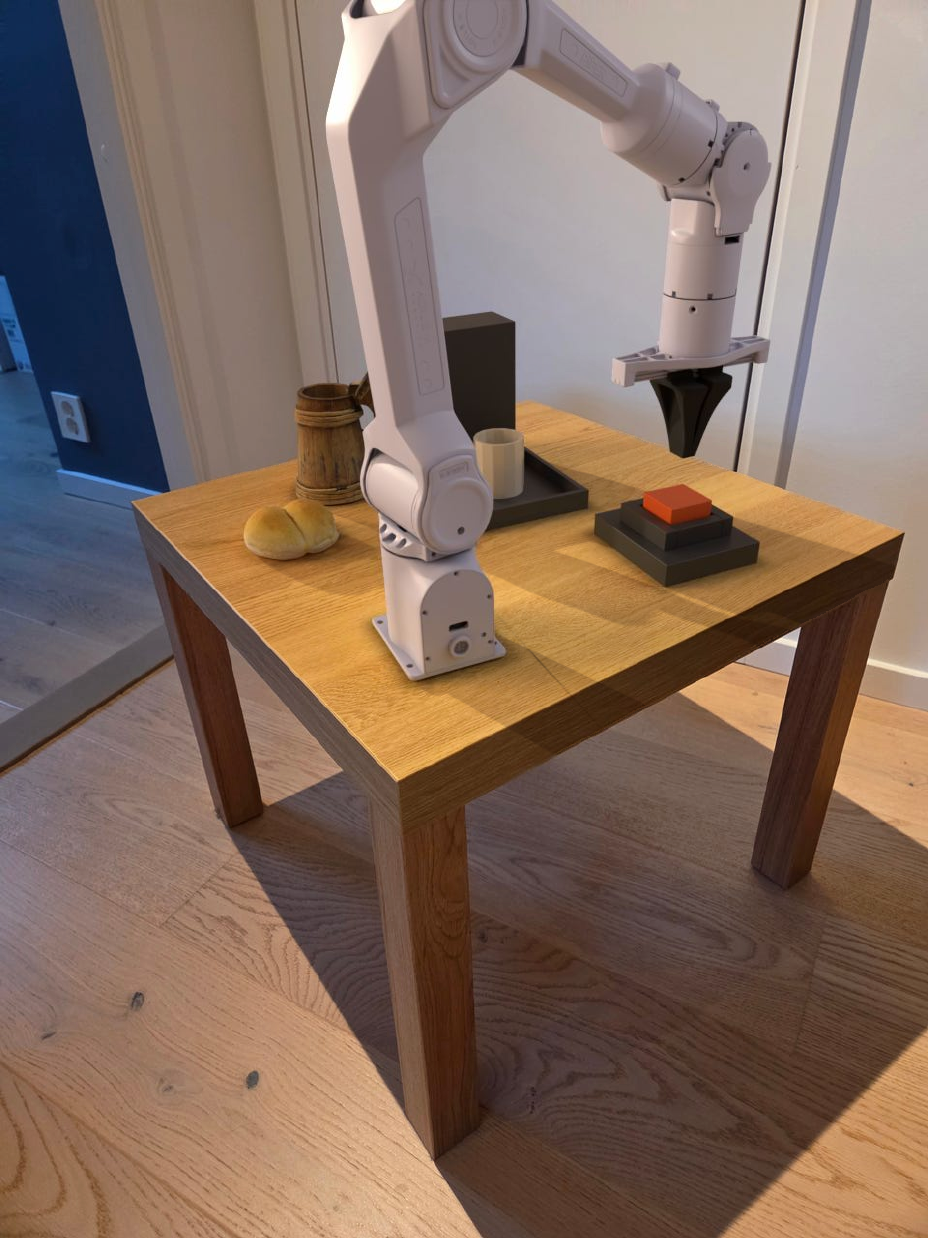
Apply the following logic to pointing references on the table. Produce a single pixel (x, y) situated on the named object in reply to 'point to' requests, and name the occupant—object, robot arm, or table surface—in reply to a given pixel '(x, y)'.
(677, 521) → the button
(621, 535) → the control block
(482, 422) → the block
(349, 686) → the table surface
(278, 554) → the bread roll
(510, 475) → the cream cup
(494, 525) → the tray
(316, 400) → the wooden mug
